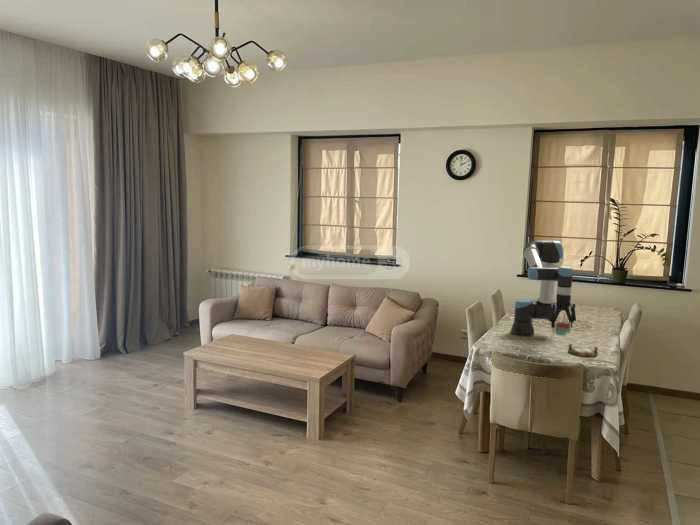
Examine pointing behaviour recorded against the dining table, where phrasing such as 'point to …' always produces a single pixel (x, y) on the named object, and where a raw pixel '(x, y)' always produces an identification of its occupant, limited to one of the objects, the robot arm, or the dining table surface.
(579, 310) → the dining table surface
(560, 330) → the cupcake
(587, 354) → the plate
